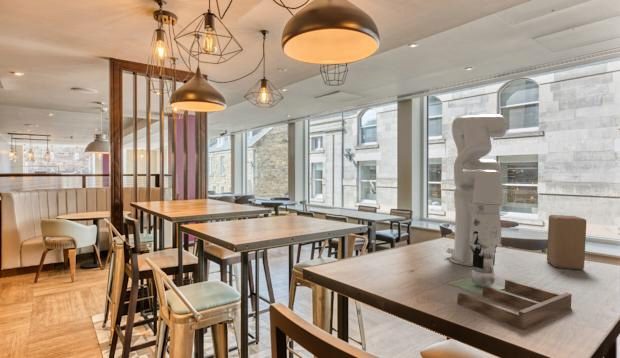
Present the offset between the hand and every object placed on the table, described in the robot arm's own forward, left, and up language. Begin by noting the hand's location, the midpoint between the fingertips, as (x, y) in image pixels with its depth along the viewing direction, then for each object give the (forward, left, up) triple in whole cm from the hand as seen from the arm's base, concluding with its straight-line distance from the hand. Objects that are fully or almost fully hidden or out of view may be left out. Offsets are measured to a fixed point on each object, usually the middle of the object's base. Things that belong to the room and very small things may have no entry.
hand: (483, 265), depth 107 cm
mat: (-2, 0, -7) cm, 7 cm away
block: (+1, +56, -7) cm, 56 cm away
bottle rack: (+12, -6, -7) cm, 15 cm away
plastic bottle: (0, 0, -7) cm, 7 cm away
